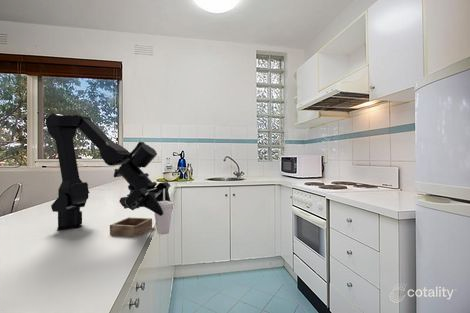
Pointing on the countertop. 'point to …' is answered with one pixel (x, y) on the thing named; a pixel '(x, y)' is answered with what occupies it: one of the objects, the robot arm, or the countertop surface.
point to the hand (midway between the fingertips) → (167, 212)
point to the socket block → (131, 226)
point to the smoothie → (164, 216)
